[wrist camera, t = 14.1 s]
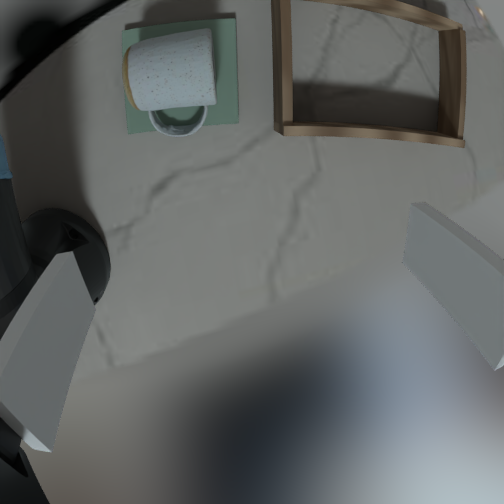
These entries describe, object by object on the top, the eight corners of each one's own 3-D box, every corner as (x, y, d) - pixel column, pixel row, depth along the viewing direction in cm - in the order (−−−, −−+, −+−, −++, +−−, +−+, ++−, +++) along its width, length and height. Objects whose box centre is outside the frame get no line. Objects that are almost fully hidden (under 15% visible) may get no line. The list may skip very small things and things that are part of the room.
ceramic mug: (134, 48, 26) (114, 39, 19) (212, 35, 26) (213, 20, 20) (147, 140, 31) (130, 155, 25) (221, 128, 32) (225, 140, 25)
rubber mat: (130, 133, 31) (128, 134, 30) (124, 32, 25) (122, 30, 25) (237, 122, 32) (238, 123, 32) (234, 20, 27) (235, 18, 26)
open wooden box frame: (273, 130, 33) (283, 136, 29) (270, -10, 25) (280, -24, 21) (441, 139, 36) (464, 148, 31) (443, 26, 28) (467, 24, 23)
